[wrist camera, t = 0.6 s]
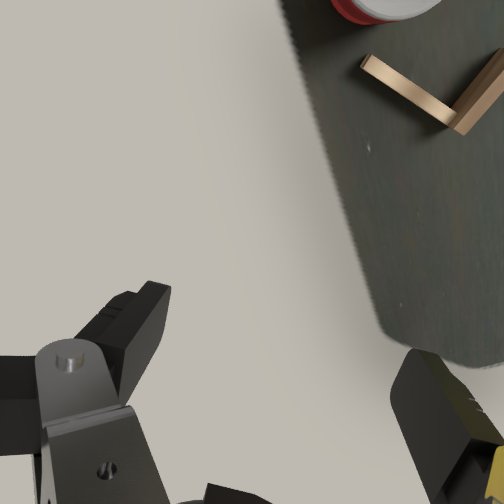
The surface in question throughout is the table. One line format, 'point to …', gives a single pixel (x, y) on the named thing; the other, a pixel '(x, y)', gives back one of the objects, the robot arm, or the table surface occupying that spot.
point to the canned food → (381, 10)
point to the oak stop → (457, 117)
